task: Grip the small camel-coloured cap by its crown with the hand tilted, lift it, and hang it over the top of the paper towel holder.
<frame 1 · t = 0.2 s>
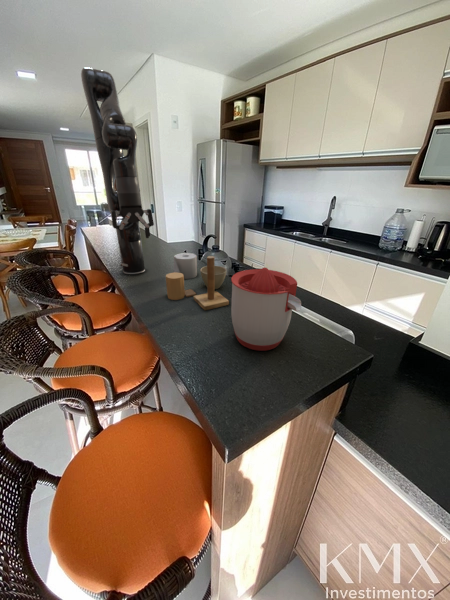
hand: (135, 239, 93), 17 cm above the counter, tool pointing down, fingers open, 8 cm apart
citrus juicer: (261, 340, 66), on the counter
toilet tissue: (184, 276, 108), on the counter
beige bowl: (213, 287, 98), on the counter
cap: (176, 296, 89), on the counter
paper towel holder: (211, 302, 85), on the counter
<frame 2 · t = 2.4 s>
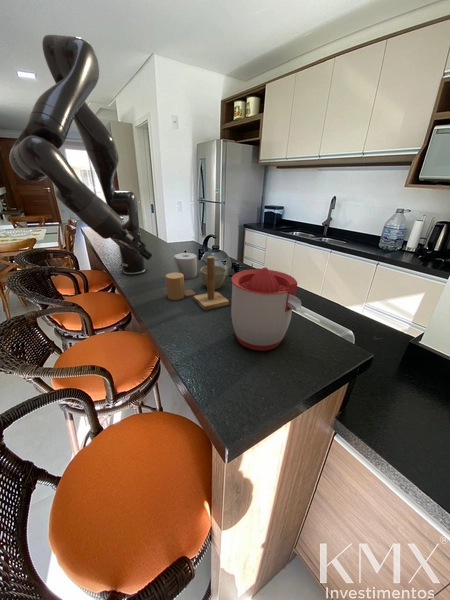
hand: (142, 255, 77), 16 cm above the counter, tool tilted 40°, fingers open, 8 cm apart
nothing on the counter moved.
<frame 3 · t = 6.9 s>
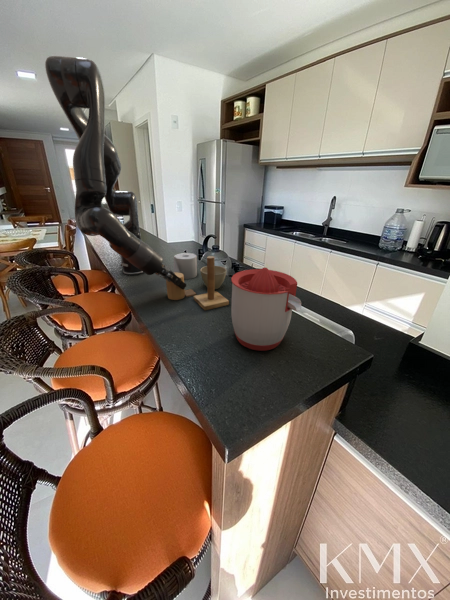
hand: (179, 284, 88), 4 cm above the counter, tool tilted 45°, fingers closed on cap, 6 cm apart
cap: (176, 296, 89), on the counter, touching gripper
everything else where it was.
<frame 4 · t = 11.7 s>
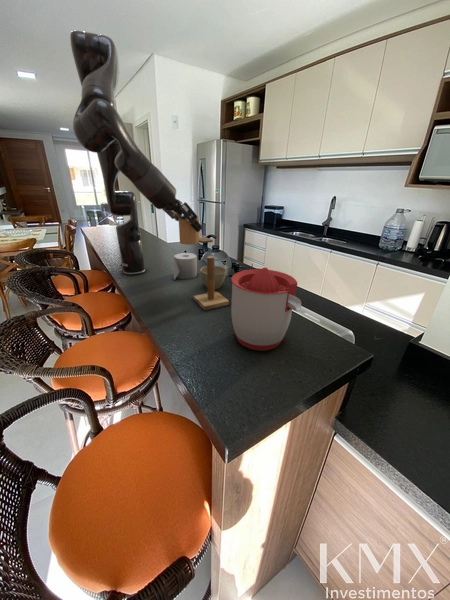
hand: (193, 227, 77), 24 cm above the counter, tool tilted 45°, fingers closed on cap, 6 cm apart
cap: (189, 242, 78), point 20 cm above the counter, touching gripper
everything else where it was.
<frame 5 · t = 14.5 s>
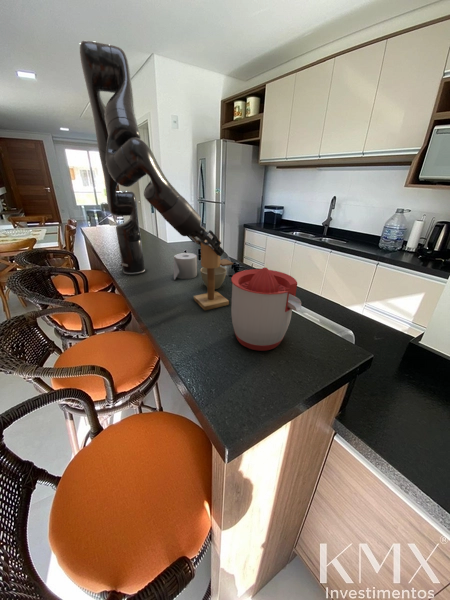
hand: (214, 251, 79), 18 cm above the counter, tool tilted 45°, fingers closed on cap, 6 cm apart
cap: (210, 265, 80), point 13 cm above the counter, touching gripper
everything else where it was.
when the fingers open (13 cm above the counter, at t = 16.5 s): cap stays where it is, resting on paper towel holder.
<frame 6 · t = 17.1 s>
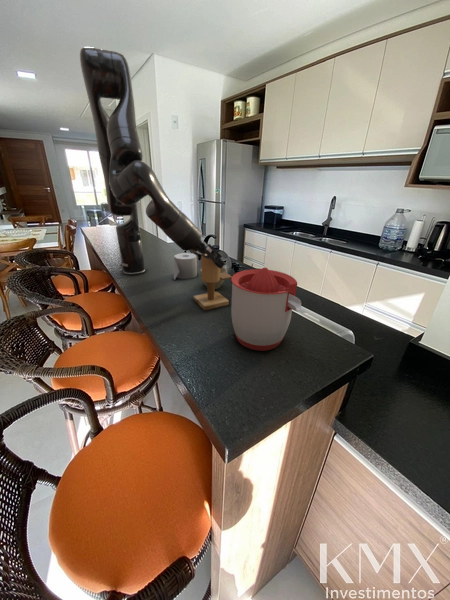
hand: (214, 262, 80), 14 cm above the counter, tool tilted 45°, fingers open, 8 cm apart
cap: (210, 279, 82), point 9 cm above the counter, touching paper towel holder
everything else where it was.
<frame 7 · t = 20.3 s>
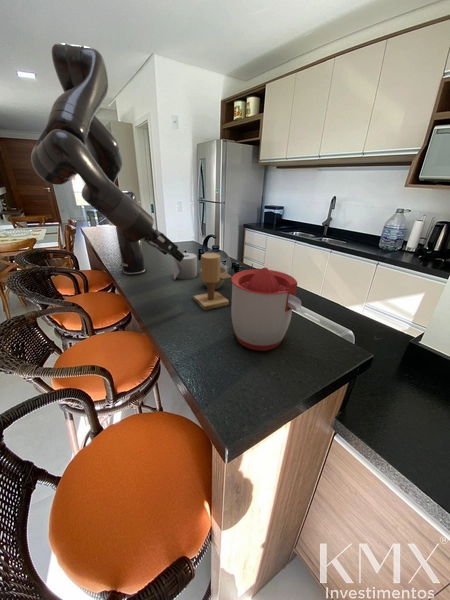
hand: (174, 255, 71), 18 cm above the counter, tool tilted 45°, fingers open, 8 cm apart
nothing on the counter moved.
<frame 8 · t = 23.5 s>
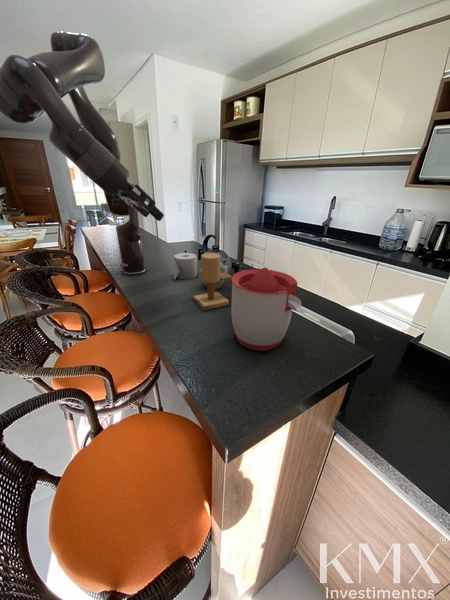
hand: (154, 216, 68), 29 cm above the counter, tool tilted 45°, fingers open, 8 cm apart
nothing on the counter moved.
at the end: cap 0.1 cm off-centre on the paper towel holder, point 8.5 cm above the paper towel holder's base; cap tilted 0°; the gripper is holding nothing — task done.
